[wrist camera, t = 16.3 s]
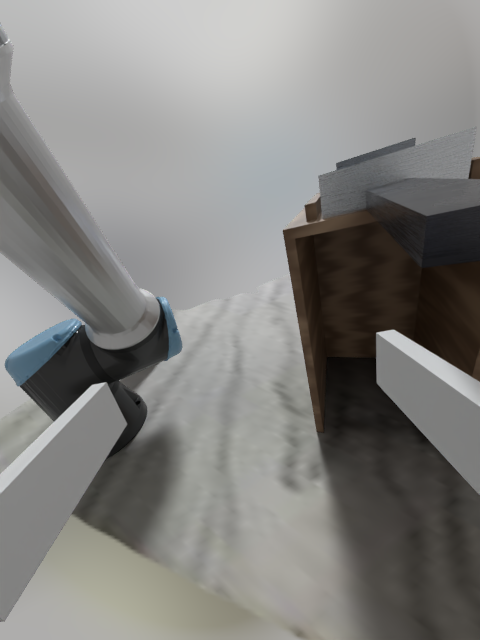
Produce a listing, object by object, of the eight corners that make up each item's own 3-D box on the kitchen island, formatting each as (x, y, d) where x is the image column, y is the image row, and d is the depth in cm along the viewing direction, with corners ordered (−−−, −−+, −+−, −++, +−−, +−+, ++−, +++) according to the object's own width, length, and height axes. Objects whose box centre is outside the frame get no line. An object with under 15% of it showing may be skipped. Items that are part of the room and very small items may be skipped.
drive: (304, 282, 8) (284, 143, 6) (326, 204, 32) (323, 169, 30) (862, 213, 4) (1279, -249, 2) (413, 181, 27) (416, 139, 26)
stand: (316, 431, 34) (279, 213, 21) (322, 351, 50) (303, 197, 36) (462, 452, 27) (557, 140, 13) (415, 351, 43) (436, 159, 29)
